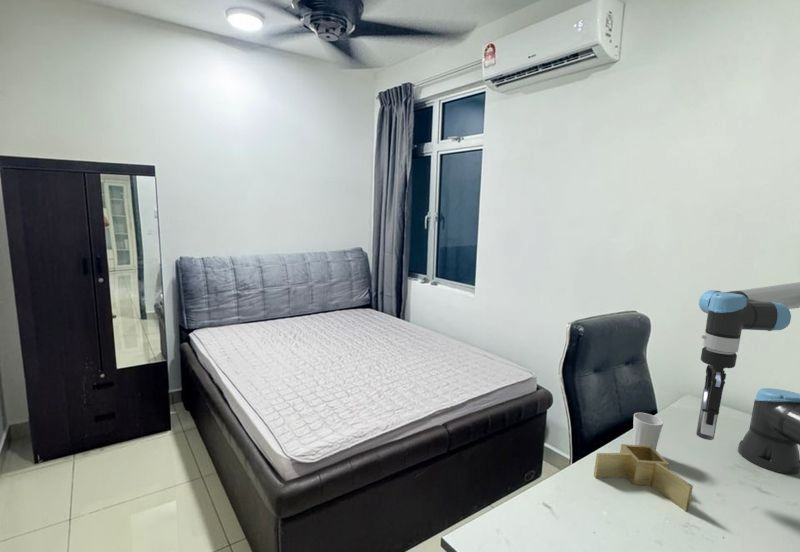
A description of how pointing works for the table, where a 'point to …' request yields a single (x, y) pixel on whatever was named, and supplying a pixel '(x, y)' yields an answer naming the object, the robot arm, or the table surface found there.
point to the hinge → (644, 472)
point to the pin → (703, 406)
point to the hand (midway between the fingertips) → (705, 430)
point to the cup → (646, 430)
